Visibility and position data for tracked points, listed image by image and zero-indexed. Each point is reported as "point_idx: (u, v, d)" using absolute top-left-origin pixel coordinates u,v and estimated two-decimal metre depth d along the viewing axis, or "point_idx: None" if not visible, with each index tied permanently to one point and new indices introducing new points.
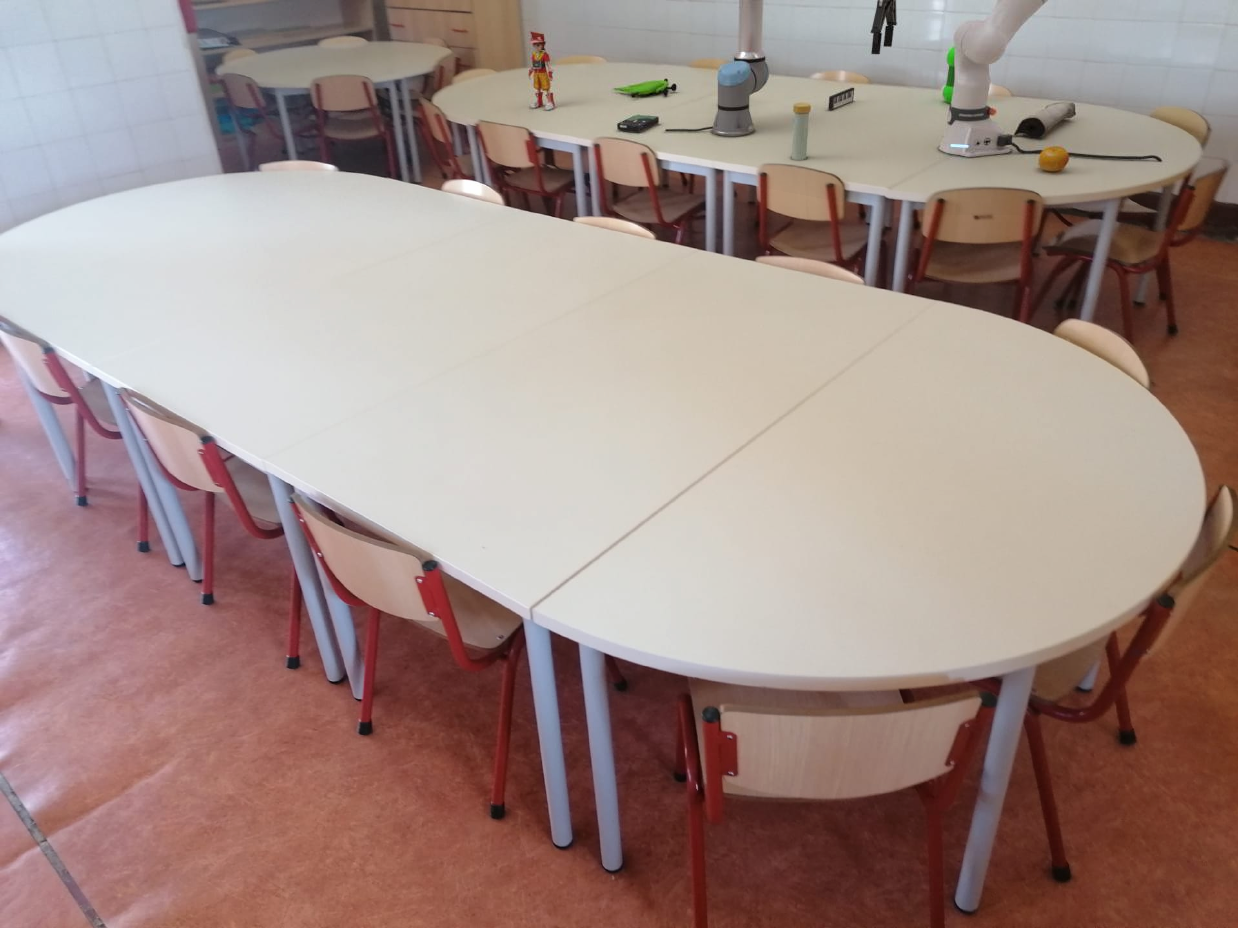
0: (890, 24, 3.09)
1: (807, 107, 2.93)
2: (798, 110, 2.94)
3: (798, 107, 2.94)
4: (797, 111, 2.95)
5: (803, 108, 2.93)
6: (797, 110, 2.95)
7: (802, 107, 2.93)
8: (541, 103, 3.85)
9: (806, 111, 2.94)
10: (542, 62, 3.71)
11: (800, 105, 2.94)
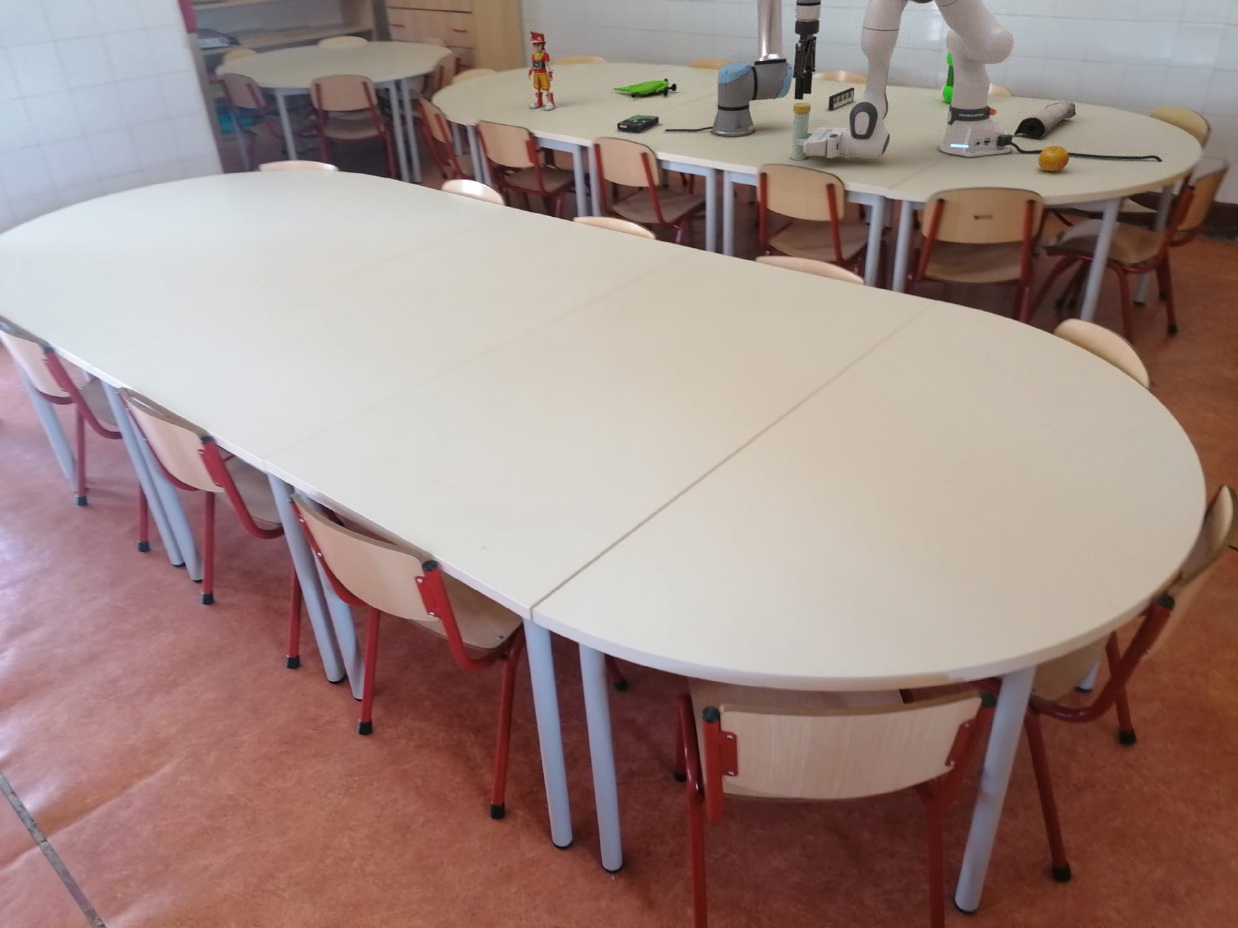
0: None
1: (807, 107, 2.94)
2: (798, 110, 2.94)
3: (798, 107, 2.94)
4: (797, 111, 2.95)
5: (803, 108, 2.93)
6: (797, 110, 2.95)
7: (802, 107, 2.93)
8: (541, 103, 3.85)
9: (806, 111, 2.94)
10: (542, 62, 3.71)
11: (800, 105, 2.94)
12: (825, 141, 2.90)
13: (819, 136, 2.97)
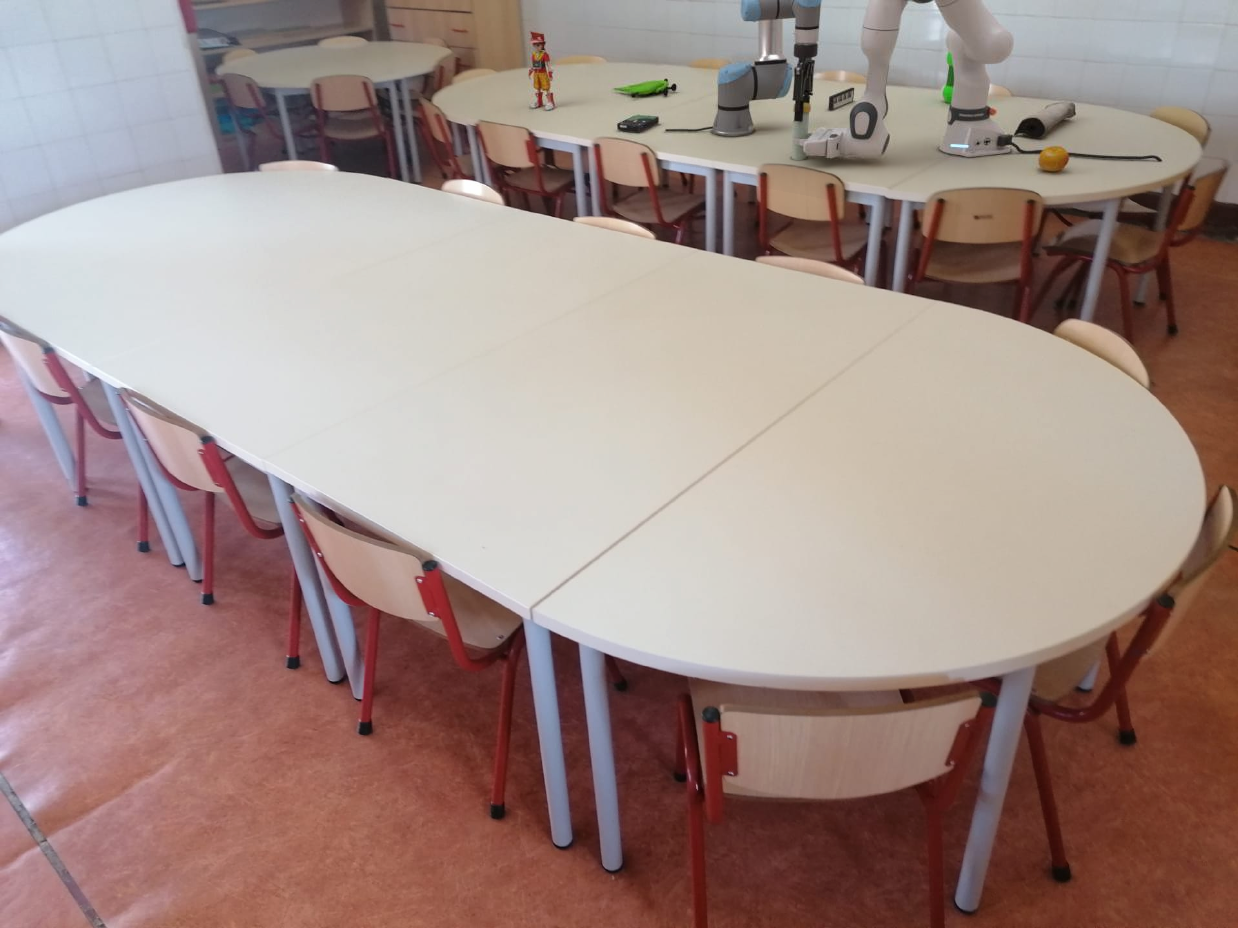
0: None
1: (807, 107, 2.94)
2: None
3: None
4: None
5: (803, 108, 2.93)
6: None
7: None
8: (541, 103, 3.85)
9: (806, 111, 2.94)
10: (542, 62, 3.71)
11: None
12: (825, 141, 2.90)
13: (819, 136, 2.97)
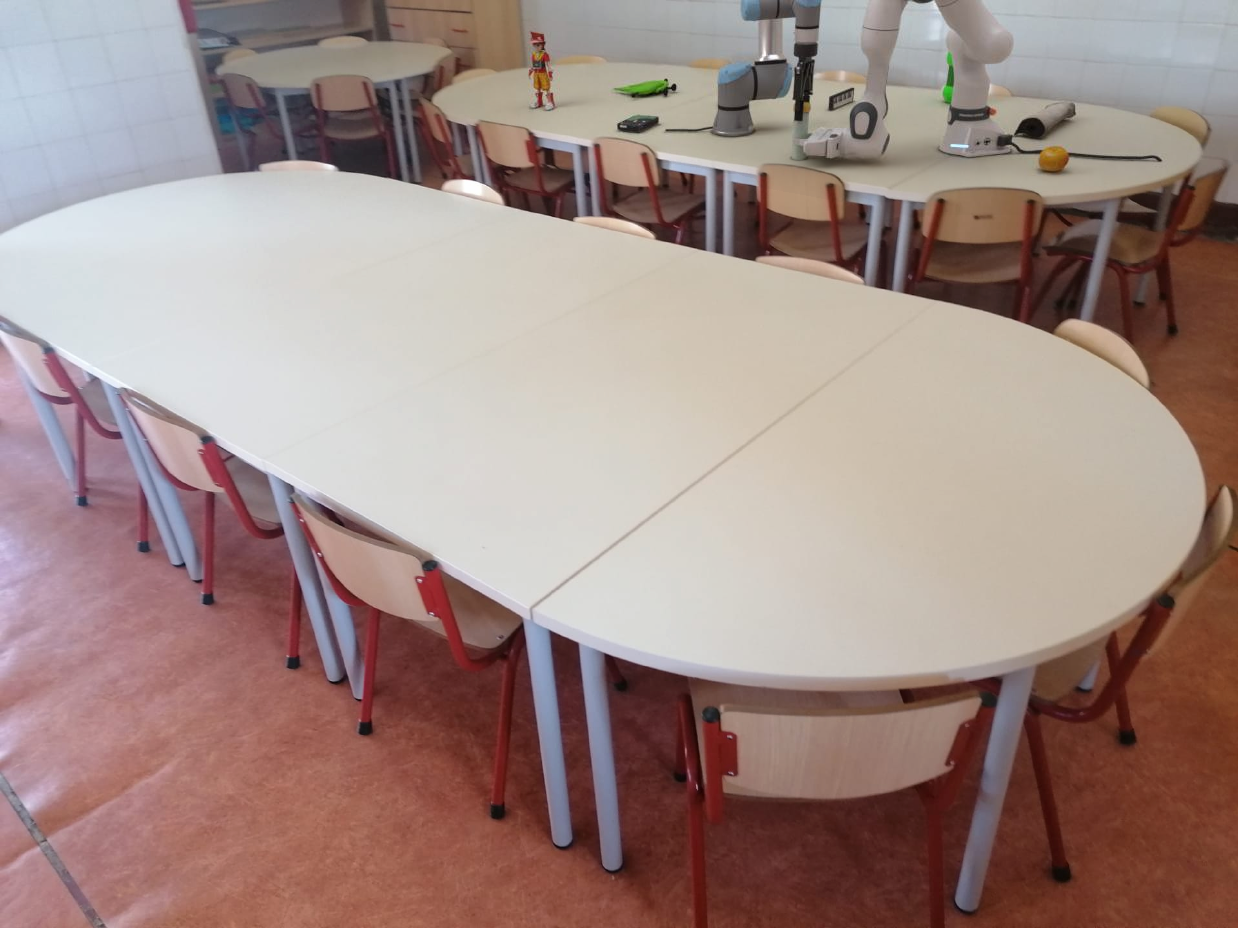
0: None
1: None
2: (806, 110, 2.94)
3: (806, 106, 2.93)
4: (805, 111, 2.94)
5: (809, 106, 2.94)
6: (804, 110, 2.94)
7: (809, 105, 2.94)
8: (541, 103, 3.85)
9: (810, 109, 2.96)
10: (542, 62, 3.71)
11: (804, 104, 2.94)
12: (825, 141, 2.90)
13: (819, 136, 2.97)
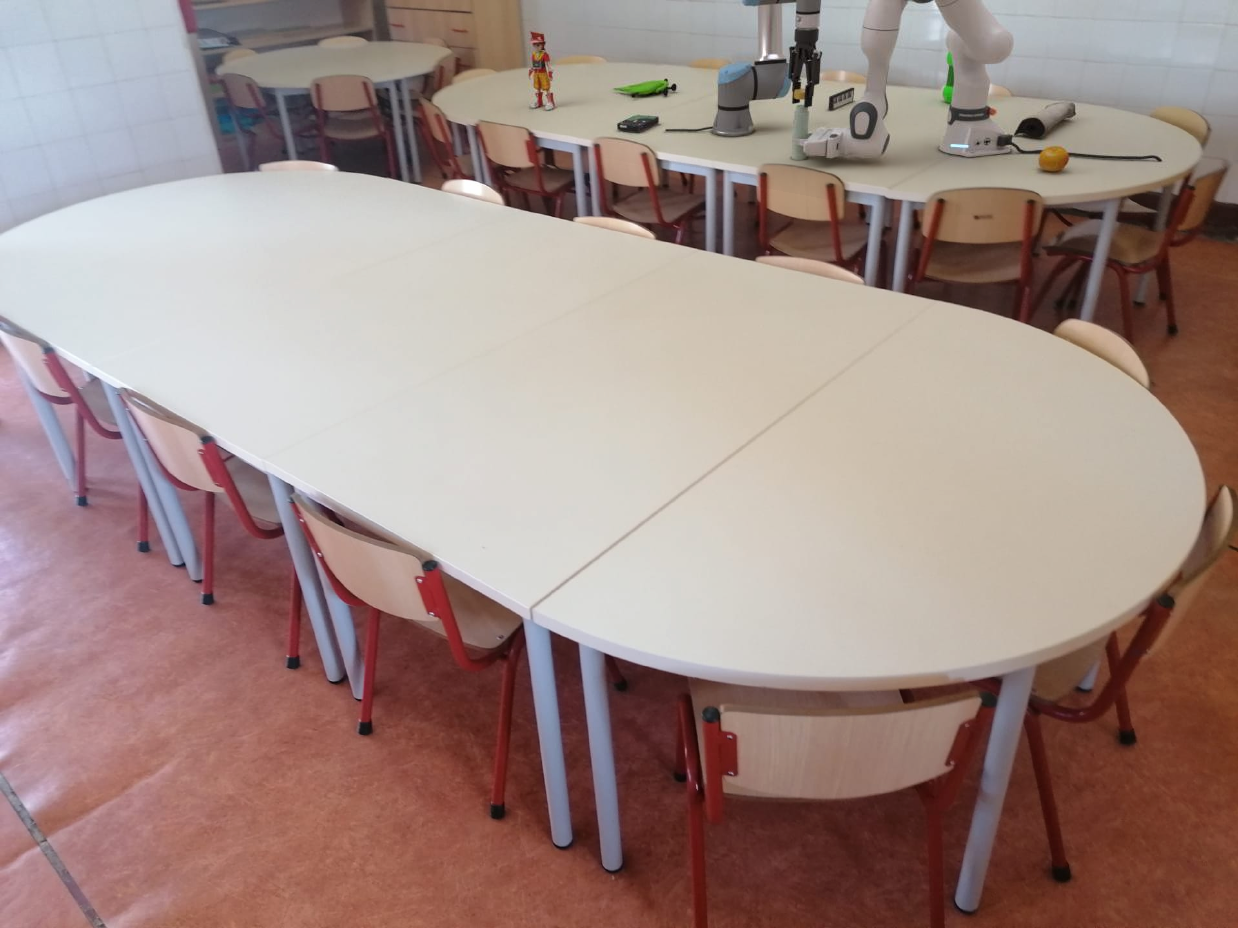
0: None
1: None
2: None
3: None
4: None
5: None
6: None
7: None
8: (541, 103, 3.85)
9: None
10: (542, 62, 3.71)
11: None
12: (825, 141, 2.90)
13: (819, 136, 2.97)
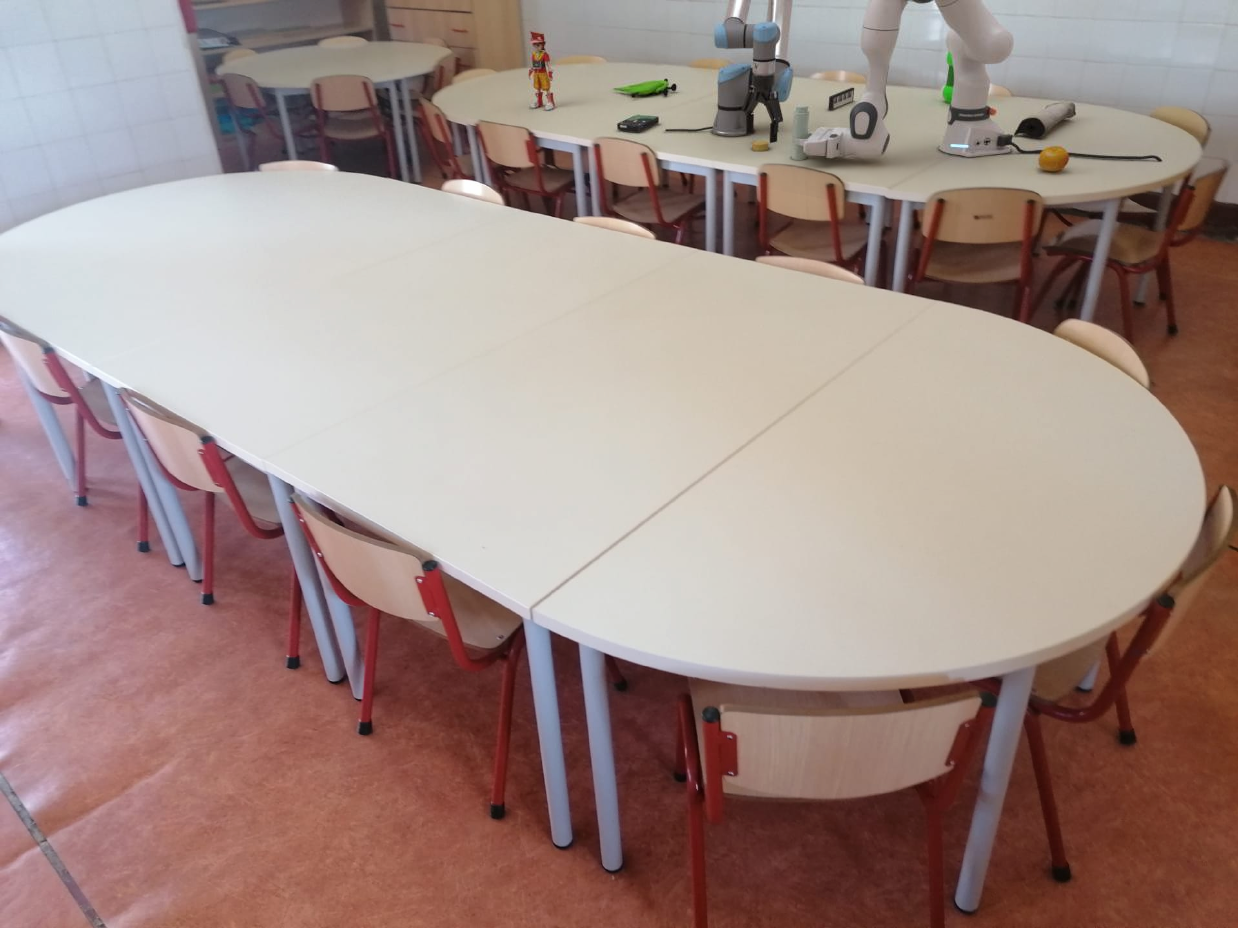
0: None
1: None
2: None
3: None
4: (767, 147, 3.15)
5: None
6: (767, 146, 3.15)
7: None
8: (541, 103, 3.85)
9: None
10: (542, 62, 3.71)
11: (764, 142, 3.15)
12: (825, 141, 2.90)
13: (819, 136, 2.97)
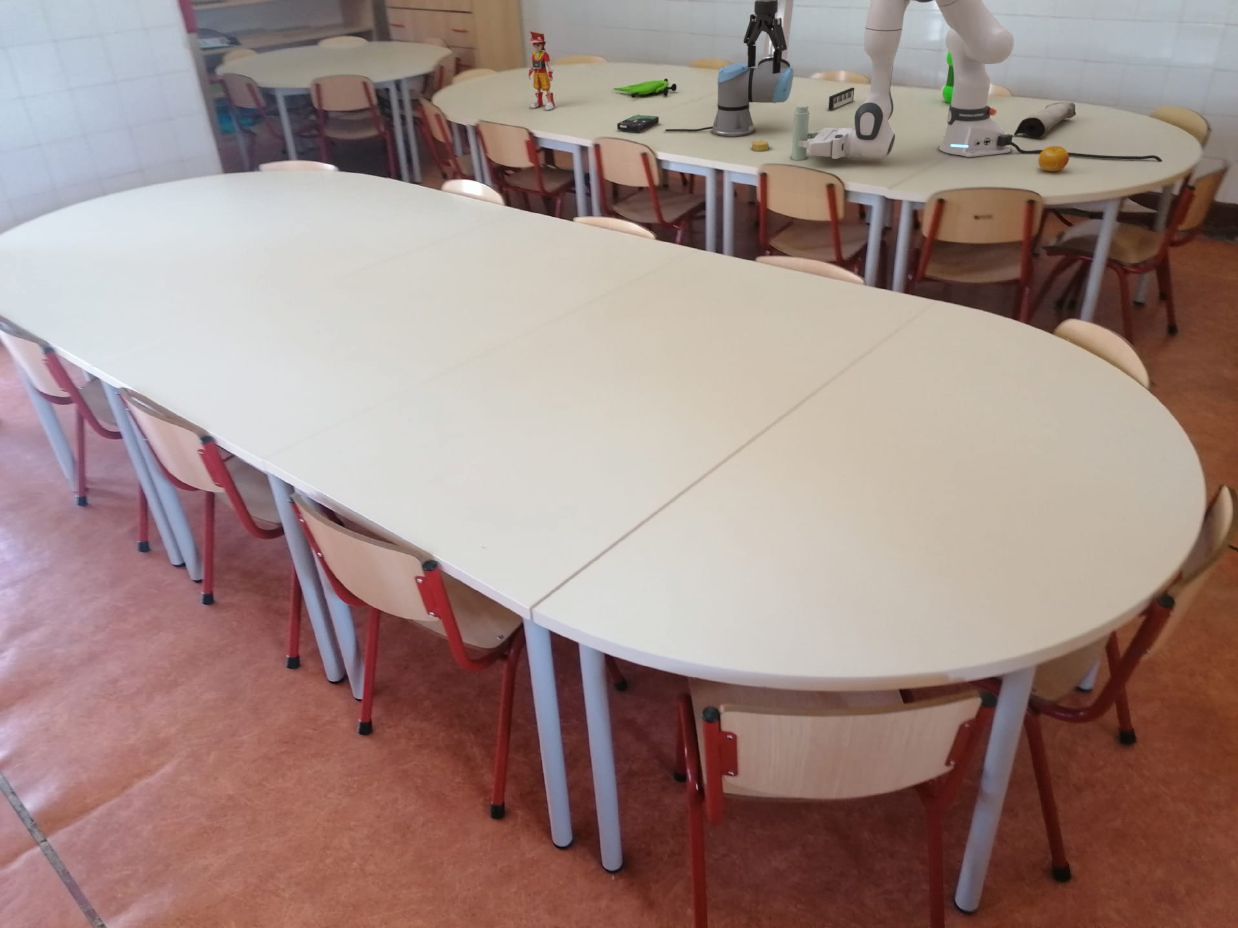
0: None
1: None
2: None
3: None
4: (767, 147, 3.15)
5: None
6: (767, 146, 3.15)
7: None
8: (541, 103, 3.85)
9: None
10: (542, 62, 3.71)
11: (764, 142, 3.15)
12: (830, 142, 2.90)
13: (825, 136, 2.96)
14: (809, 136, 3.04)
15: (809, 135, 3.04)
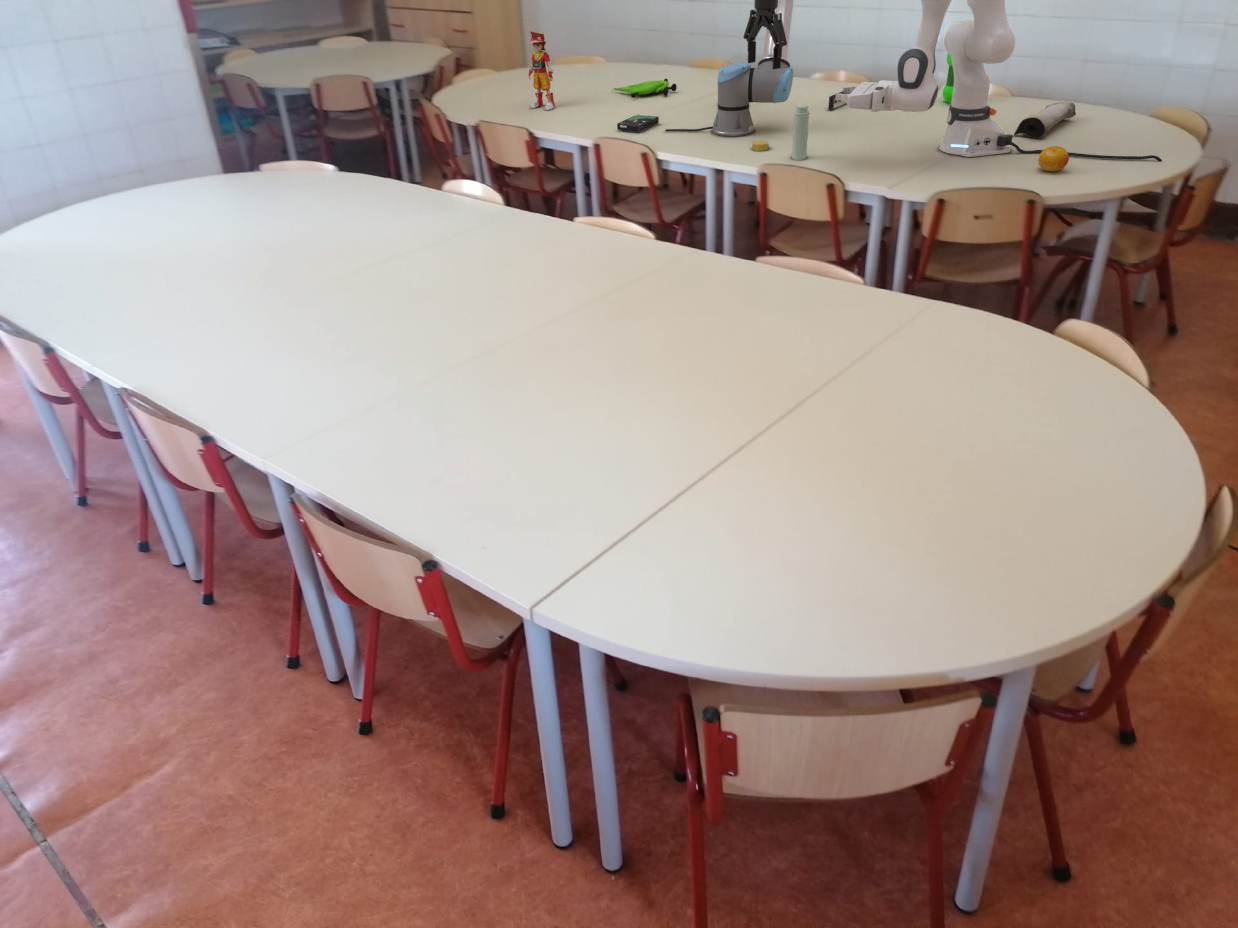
0: None
1: None
2: None
3: None
4: (767, 147, 3.15)
5: None
6: (767, 146, 3.15)
7: None
8: (541, 103, 3.85)
9: None
10: (542, 62, 3.71)
11: (764, 142, 3.15)
12: (870, 94, 2.77)
13: (863, 89, 2.83)
14: (846, 90, 2.91)
15: (846, 89, 2.91)
